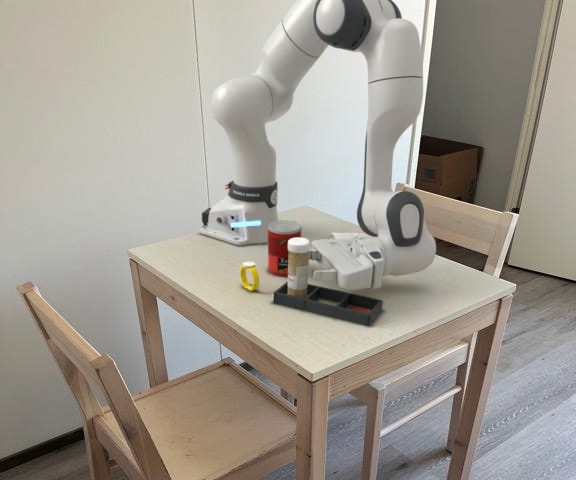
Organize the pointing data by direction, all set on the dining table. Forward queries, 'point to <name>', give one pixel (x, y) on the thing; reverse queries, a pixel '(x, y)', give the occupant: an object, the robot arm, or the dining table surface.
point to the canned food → (280, 245)
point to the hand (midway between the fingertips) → (304, 266)
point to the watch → (254, 273)
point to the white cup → (349, 237)
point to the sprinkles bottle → (298, 266)
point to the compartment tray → (339, 311)
